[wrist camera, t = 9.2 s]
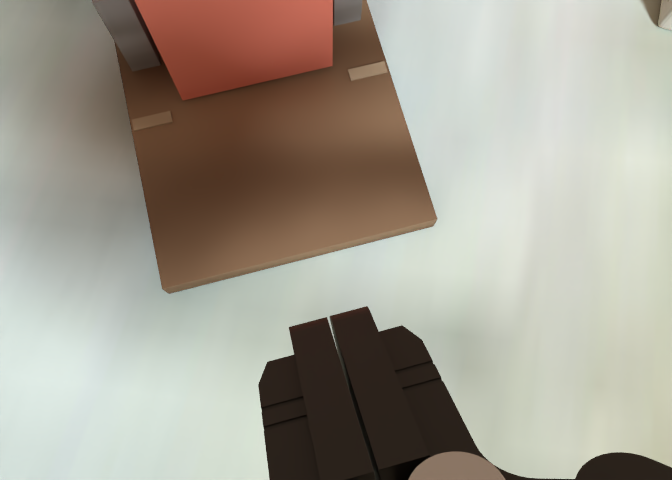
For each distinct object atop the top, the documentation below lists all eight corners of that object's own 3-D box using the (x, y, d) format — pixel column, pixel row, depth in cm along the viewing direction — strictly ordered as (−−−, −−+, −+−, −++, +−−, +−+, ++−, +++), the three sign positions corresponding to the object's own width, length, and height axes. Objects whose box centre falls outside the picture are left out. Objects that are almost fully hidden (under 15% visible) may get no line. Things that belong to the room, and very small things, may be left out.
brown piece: (433, 226, 25) (464, 171, 19) (169, 293, 24) (118, 257, 18) (323, -116, 30) (321, -244, 24) (97, -70, 29) (39, -190, 23)
